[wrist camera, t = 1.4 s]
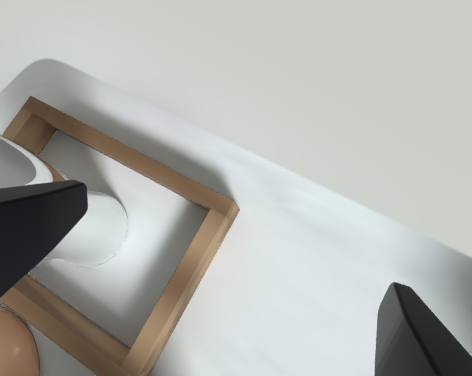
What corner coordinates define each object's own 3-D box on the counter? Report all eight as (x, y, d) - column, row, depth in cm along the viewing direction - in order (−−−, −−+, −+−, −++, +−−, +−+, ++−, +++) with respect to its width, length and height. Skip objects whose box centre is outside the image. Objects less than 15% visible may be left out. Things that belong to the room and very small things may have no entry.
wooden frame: (144, 381, 23) (124, 396, 20) (-39, 246, 28) (-75, 242, 25) (239, 209, 25) (233, 201, 23) (54, 112, 30) (30, 95, 28)
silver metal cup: (60, 284, 26) (-216, 292, 12) (49, 203, 28) (-198, 126, 14) (141, 256, 26) (-42, 229, 11) (124, 177, 28) (-50, 69, 13)
